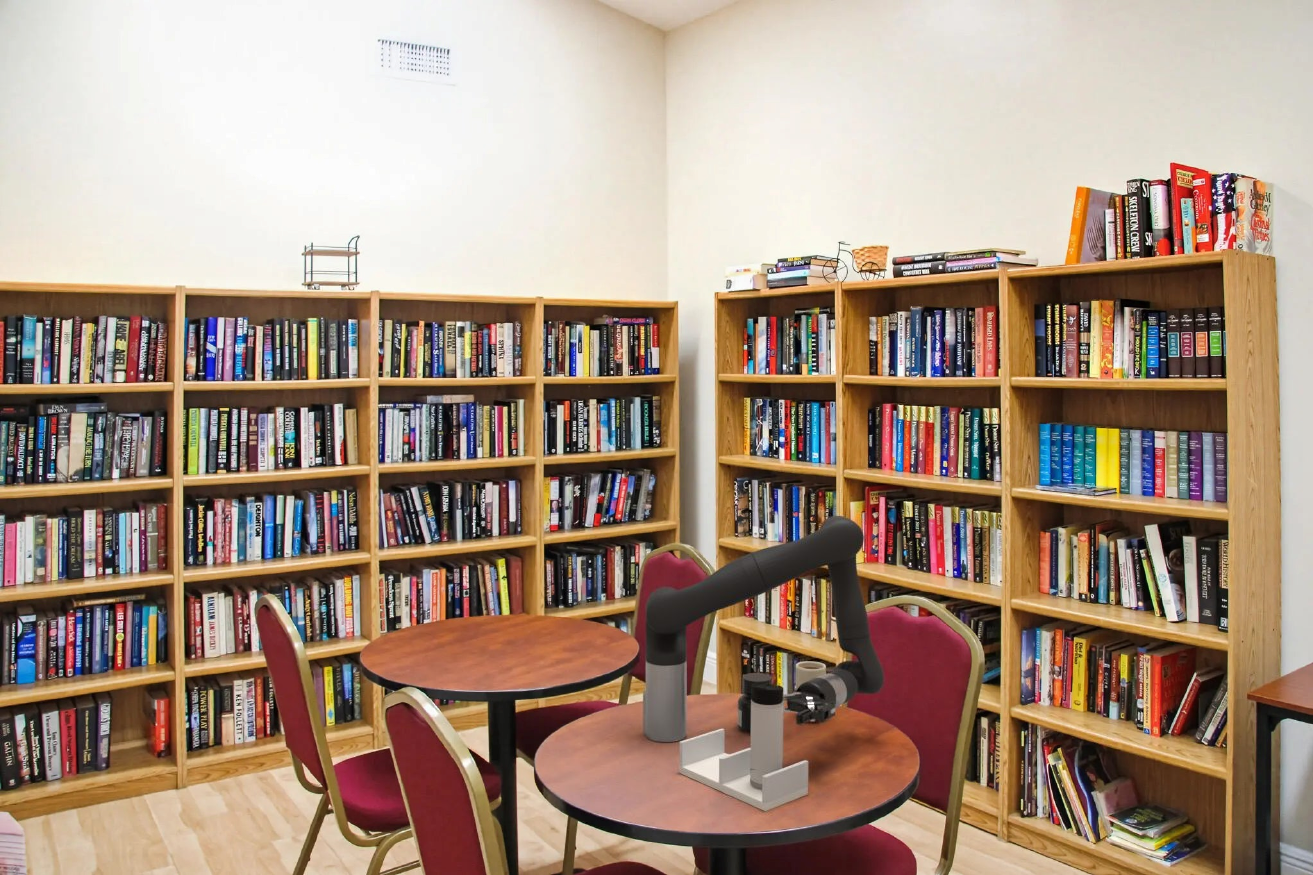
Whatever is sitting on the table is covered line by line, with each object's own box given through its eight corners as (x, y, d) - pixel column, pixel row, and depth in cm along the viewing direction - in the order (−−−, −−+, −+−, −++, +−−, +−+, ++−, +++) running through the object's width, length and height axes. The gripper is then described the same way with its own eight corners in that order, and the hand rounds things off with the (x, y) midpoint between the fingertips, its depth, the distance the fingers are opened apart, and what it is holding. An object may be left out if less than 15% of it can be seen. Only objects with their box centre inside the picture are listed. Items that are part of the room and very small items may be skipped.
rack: (679, 772, 208) (679, 741, 207) (721, 758, 216) (721, 728, 215) (765, 811, 190) (765, 777, 189) (807, 793, 197) (808, 761, 197)
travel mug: (743, 786, 197) (744, 685, 196) (758, 775, 203) (760, 676, 201) (773, 793, 194) (774, 690, 193) (787, 781, 199) (789, 681, 198)
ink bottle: (750, 718, 240) (751, 668, 240) (783, 726, 235) (784, 675, 235) (729, 730, 233) (729, 678, 232) (762, 738, 227) (763, 685, 227)
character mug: (836, 724, 237) (836, 669, 236) (810, 728, 234) (811, 673, 233) (810, 710, 246) (810, 657, 246) (785, 714, 243) (785, 661, 243)
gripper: (792, 671, 218) (749, 689, 206) (852, 684, 209) (810, 703, 197) (792, 705, 219) (749, 725, 206) (851, 719, 209) (810, 741, 197)
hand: (779, 715), depth 201 cm, fingers open, 8 cm apart
